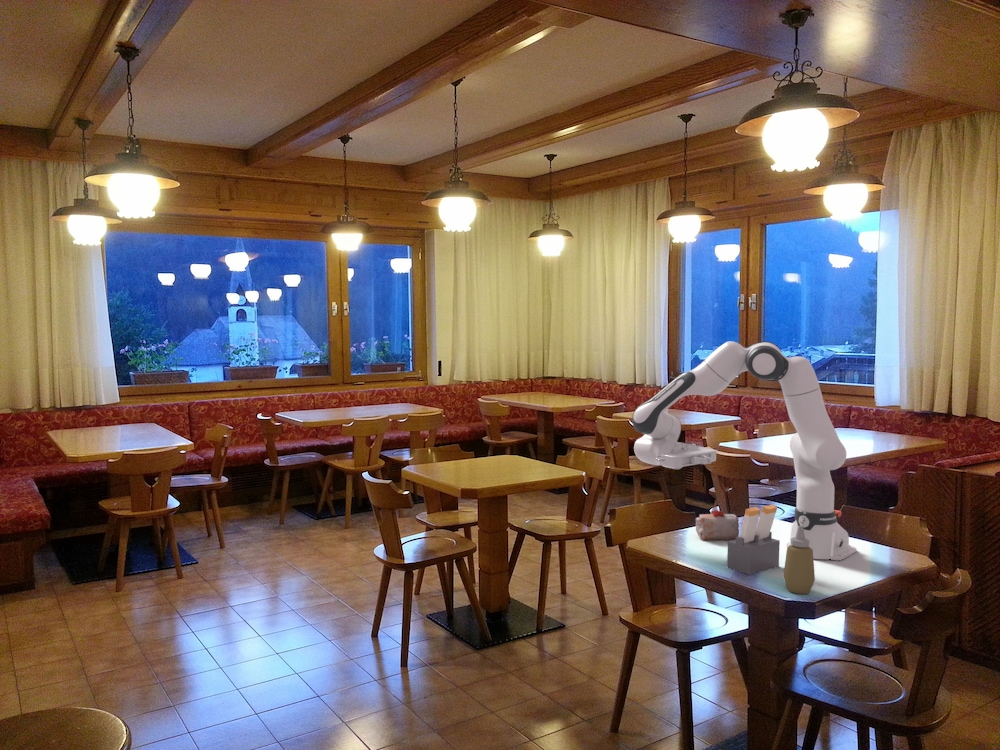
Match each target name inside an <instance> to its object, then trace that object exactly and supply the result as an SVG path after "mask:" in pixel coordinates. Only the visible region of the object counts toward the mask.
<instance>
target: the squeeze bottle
mask: <svg viewBox="0 0 1000 750" xmlns="http://www.w3.org/2000/svg"><path fill="white" fill-rule="evenodd" d="M786 547H787V546H786ZM814 561H815V559H813V550H812V549H811V548H810V547H809V540H808V539H806V538H805V534H804V529H803V526H798V529H797V533H796V537H793V538H791V545H790V546H788V547H787V548H786V554H785V562H784V566H783V567H784V568H783V569H784V570H783V574H782V576H783V580H784V583H785V586H786V589H787V591H788V592H791V593H794V594H799V595H804V594H809V593H810V592H811V591H812V588H813V585H814V583H815V581H816V575H815V563H814Z"/></svg>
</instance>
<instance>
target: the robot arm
mask: <svg viewBox="0 0 1000 750" xmlns="http://www.w3.org/2000/svg"><path fill="white" fill-rule="evenodd" d="M744 372H749V374H750V375H752V377H755V378H756V379H759V380H764V381H765V380H766V381H768V380H771V381H778V383H779V384H780V387H781V391H782V394H783V400H784V402H785V406H786V411H787V414H788V417H789V420H790V421H791V423H792V425H793V427H794V428H795V429H794V430H796V432H795V433H794V434H793V436H791V438H790V440H789V448H790V451H791V453H792V458H793V466H794V467H793V468H794V471H795V477H796V478H795V479H796V507H794V519H795V521H793V522H792V523H791V529H790V537H789V542H787V543H786V547H788V546H790V545H791V538H793V537H796V533H797V529H798V526H803V529H804V534H805V538H806V539H808V540H809V547H810V548H811V549H812V550H813V560H829V559H831V560H832V561H839V560H840V561H843V560H845V559H846V558H848V557H849V556H851V555H853V554H855V553H857V548H856V547H855V546H853V545H851V544H849V543H850V541H849V539H850V538H849V537H850V536H849V533H848V532H847V530H846V529H844V527H842V526H841V525H840V524H839V523H838V520H837V518H841V516H842V511H841V510H836V509H835V485H834V482H833V480H832V476H831V471H834V470H835V471H836V470H837V469H840V468H841V467H842V466H843V465H844V463H845V462H846V459H847V449H846V448H845V445H844V444H843V443H842V442H841V440H840V438H839V436H838V434H837V431H836V430H835V427H834V425H833V422H832V420H831V418H830V416H829V414H828V411H827V409H826V405H825V401H824V397H823V395H822V393H823V392H822V390H821V386H820V383H819V380H818V377H817V374H816V371H815V369H814V367H813V365H812V363H811V362H810V360H809V359H808V358H807V357H804V356H800V355H799V356H796V355H795V356H791V357H789V356H785V355H784V354H783V353H782V351H781V348H779V346H778V345H777V344H775V343H774V342H771V341H759V342H756V343H752V344H750V345H747V346H745V347H744V346H743V345H741V344H740V343H739V342H736V341H731V340H729V341H726V342H723V344H722V345H720V346H719V347H717V348H715V350H713V351H712V352H711V353H710V354H709V355H708V356H707V357H706V358H705V359H704V360H703V361H702V362H701V363H700V364H699V365H697V366H696V367H694V368H693V369H691V370H688V371H685V372H683V373H680V374H679V375H678V376H677V377H676V378H674V379H673V380H671V382H669V383H668V384H667V385H666V386H665V387H663V388H662V389H661V390H659V392H657V393H656V394H654V396H652V397H651V398H650V399H649V400H647V401H644V402H643V403H641V404H639V406H637V407H636V408H635V410H634V412H633V414H632V418H631V420H632V422H631V423H632V425H633V426H632V427H633V429H634V430H635V431H636V432H637V433H640V434H642V435H643V436H641V437H640V438H637V439H636V441H635V442H634V446H633V451H634V454H635V456H636V458H637V459H638V460H639V461H641V462H643V463H645V464H648V465H653V466H662V467H664V468H668V469H673V470H680V469H682V468H683V467H689V466H695V465H709V464H712V463H713V462H714V463H715V462H716V461H717V451H716V450H715V449H712V448H710V447H704V446H700V445H696V443H693V442H691V443H690V442H686V443H685V442H679V438H680V436H681V432H682V424H681V421H680V419H678V417H675V416H674V415H672V414H671V413H668V412H667V411H668V409H669V408H671V406H673V405H674V404H675V403H676V402H677V401H679V400H681V398H683V397H686V396H695V395H696V396H704V397H706V396H707V397H712V396H716V395H718V394H720V393H722V392H723V391H724V390H725V389H726V388H727V387H728V386H729V385H730V384H731V383H732V382H733V381H734V380H735V379H736V378H737V376H739V375H741V374H742V373H744ZM666 410H667V411H666ZM842 559H843V560H842ZM831 560H830V561H831Z"/></svg>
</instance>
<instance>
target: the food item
mask: <svg viewBox="0 0 1000 750" xmlns="http://www.w3.org/2000/svg"><path fill="white" fill-rule="evenodd" d="M739 521H740V519H739V517H738V516H737V515H736V514H734V513H723V511H722V510H718V509H717V508H715V509H714V510H712V511H711V512H710V513H705V514H704V513H702V514H699V516H698V517H695V532H696V534H697V536H698V537H699V538H700V539H701V540H702V541H705V542H706V541H726V542H728V541H732V540H736V537H740V529H739V527H740V524H739Z"/></svg>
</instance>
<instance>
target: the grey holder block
mask: <svg viewBox="0 0 1000 750" xmlns="http://www.w3.org/2000/svg"><path fill="white" fill-rule="evenodd" d="M780 543H781V542H780V540H779V539H775V538H772V531H770V533H769V537H766V538H762V539H758V535H756V534H755V537H754V540H753V541H749V542H745V543H744V538H740V536H739V537H736V540H732V541H727V559H726V560H727V561H726V563H727V565H726V567H728V568H727V569H729V568H731V569H730V570H733V569H735V570H734V571H736V570H737V572H739V571H741V572H740V573H742V572H743V573H742V574H745V573H746V574H745V575H748V574H749V575H748V576H751V575H755V574H759V573H760V572H761V571H762V572H765V571H768V569H769V570H771V569H775V567H776V568H778V567H779V566H780ZM754 573H755V574H754ZM750 574H751V575H750Z"/></svg>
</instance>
